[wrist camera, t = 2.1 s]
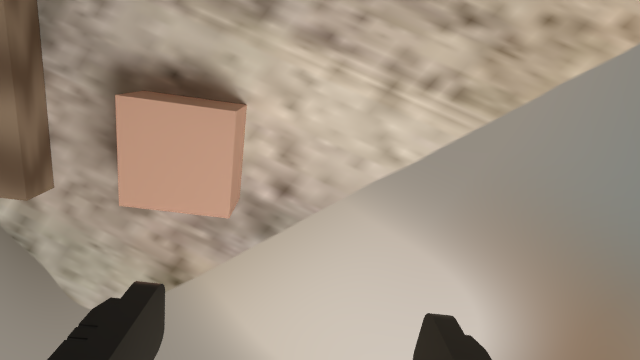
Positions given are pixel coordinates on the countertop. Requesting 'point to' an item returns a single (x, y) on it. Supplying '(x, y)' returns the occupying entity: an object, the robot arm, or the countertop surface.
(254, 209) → the countertop surface
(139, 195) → the terracotta block
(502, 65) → the countertop surface
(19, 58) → the walnut board
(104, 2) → the countertop surface
